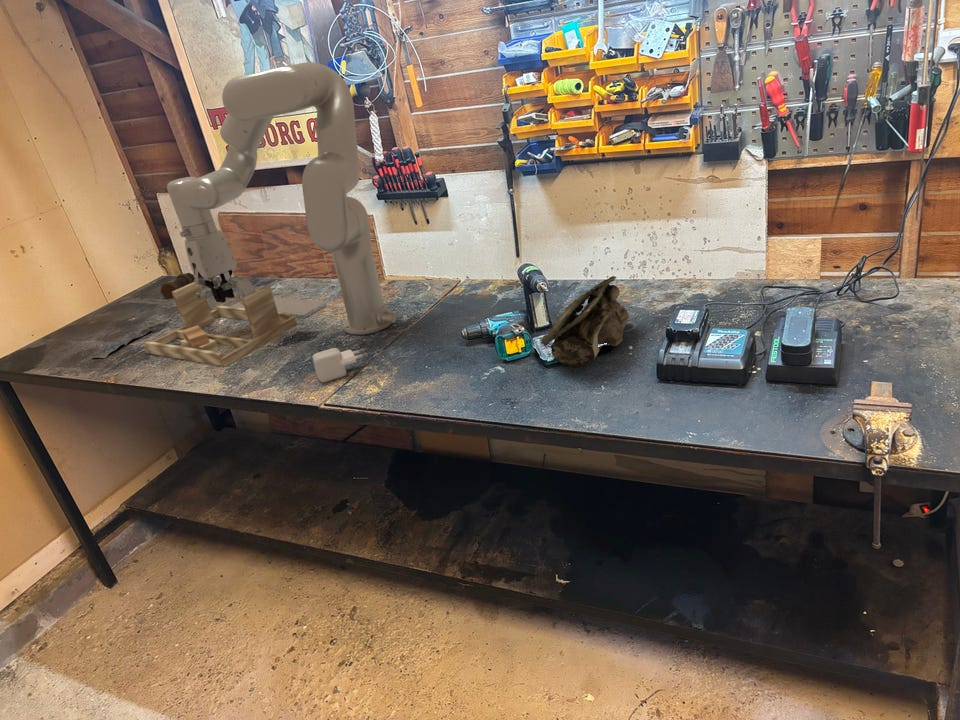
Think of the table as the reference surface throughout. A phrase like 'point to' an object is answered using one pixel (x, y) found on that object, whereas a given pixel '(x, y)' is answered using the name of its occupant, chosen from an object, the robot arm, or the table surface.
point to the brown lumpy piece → (176, 284)
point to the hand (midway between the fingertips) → (225, 299)
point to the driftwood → (120, 342)
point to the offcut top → (195, 336)
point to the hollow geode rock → (588, 326)
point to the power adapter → (334, 363)
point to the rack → (197, 312)
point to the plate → (294, 306)
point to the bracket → (239, 284)
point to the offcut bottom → (209, 346)
